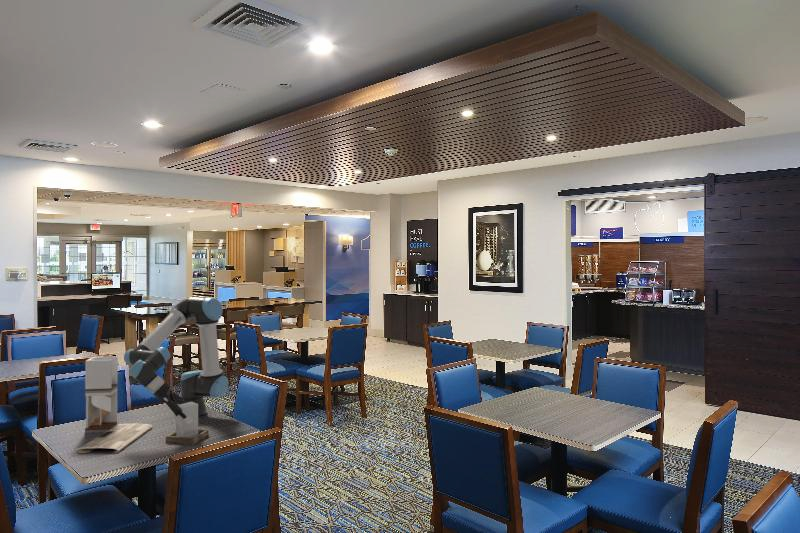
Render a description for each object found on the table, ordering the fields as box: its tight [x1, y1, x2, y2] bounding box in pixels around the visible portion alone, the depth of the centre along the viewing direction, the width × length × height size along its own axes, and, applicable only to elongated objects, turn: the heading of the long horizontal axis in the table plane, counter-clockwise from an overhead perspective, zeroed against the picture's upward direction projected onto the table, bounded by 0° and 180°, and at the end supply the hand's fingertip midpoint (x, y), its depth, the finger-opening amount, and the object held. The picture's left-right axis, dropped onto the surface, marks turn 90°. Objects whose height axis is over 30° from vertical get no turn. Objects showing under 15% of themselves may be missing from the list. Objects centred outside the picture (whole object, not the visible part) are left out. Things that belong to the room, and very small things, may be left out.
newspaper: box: [76, 422, 154, 454], centre depth 260 cm, size 37×19×3 cm, turn 2°
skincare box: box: [175, 402, 199, 438], centre depth 261 cm, size 8×7×16 cm
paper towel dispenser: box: [84, 355, 119, 434], centre depth 275 cm, size 11×11×35 cm
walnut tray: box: [165, 428, 209, 446], centre depth 261 cm, size 14×14×3 cm
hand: (192, 418), depth 262 cm, fingers open, 13 cm apart
